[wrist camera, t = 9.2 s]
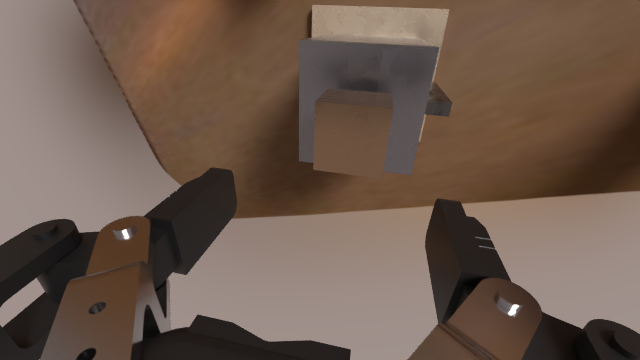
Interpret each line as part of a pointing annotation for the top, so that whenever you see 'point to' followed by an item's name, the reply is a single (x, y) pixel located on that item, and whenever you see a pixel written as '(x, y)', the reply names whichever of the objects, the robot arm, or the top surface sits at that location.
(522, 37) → the top surface
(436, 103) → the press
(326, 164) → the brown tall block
